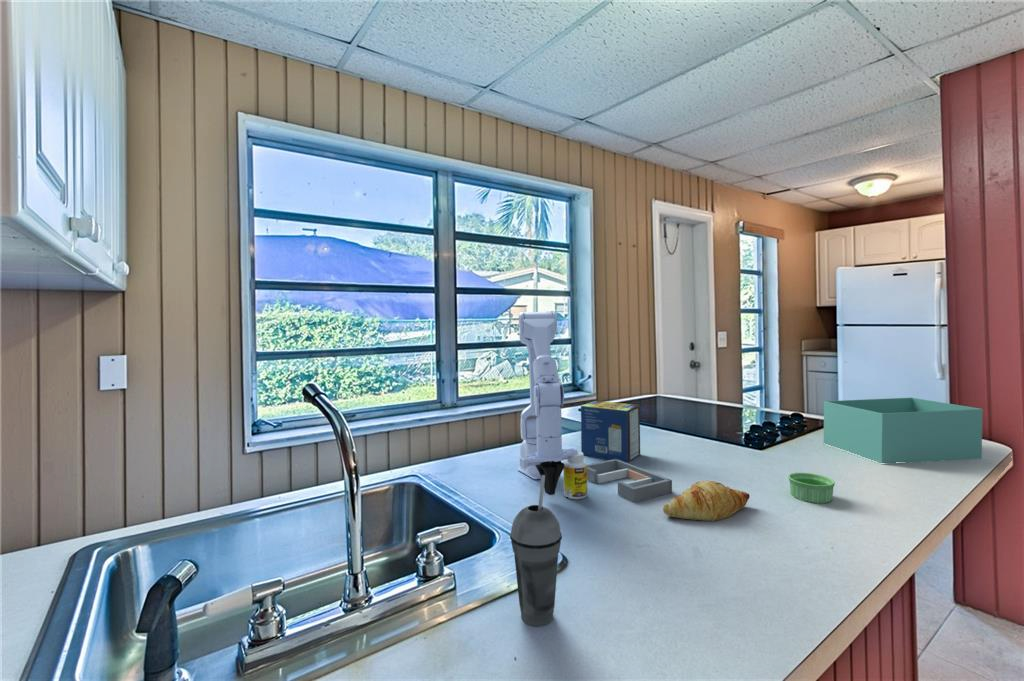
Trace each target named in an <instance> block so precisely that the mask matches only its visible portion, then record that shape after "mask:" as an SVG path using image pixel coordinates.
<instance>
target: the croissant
mask: <svg viewBox="0 0 1024 681" xmlns="http://www.w3.org/2000/svg"><path fill="white" fill-rule="evenodd" d="M750 497H751V496H750V494H749V493H747V492H746V491H743V490H742V491H740V490H738V489H734V488H730V487H729V486H725V485H724V484H722V483H721V482H716V481H712V480H701V481H697V482H695V483H694V484H692V485H691V486H690V488H686V489H685V490H683V491H682V493H681V494H680V495H679V496H676V497H673V498H672V499H671V500H670V501H669V503H668V504H664V505H663V508H662V512H663V513H664V514H665V516H668V517H670V518H671V517H672V518H677V519H678V518H679V519H684V520H695V521H709V522H710V521H712V522H714V521H716V520H722V519H726V518H728V517H731V516H732V515H733V514H734V513H736V512H737V511H739V510H741V509H742V508H744V507H745V506H746V505H747V503H748V501H749V499H750Z"/></svg>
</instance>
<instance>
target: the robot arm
mask: <svg viewBox="0 0 1024 681" xmlns="http://www.w3.org/2000/svg"><path fill="white" fill-rule="evenodd" d="M518 329H519V330H518V333H519V340H520V343H521V344H523V345H525V346H526V349H527V352H528V367H529V368H528V369H529V370H528V371H529V373H528V374H529V400H530V404H529V405H527V407H525V408H524V409H522V411H521V413H520V425H519V426H520V428H519V429H520V437H521V440H522V442H521V445H520V447H519V451H520V453H519V454H520V456H519V466H520V467H518V468H517V471H519V472H520V473H522V474H524V475H526V476H527V477H530V478H531V479H532V480H539V479H540V480H541V477H542V475H545V483H544V492H545V493H546V494H547V495H548V496H554V495H555V494H556V489H557V486H558V482H559V479H560V476H561V475H562V474H563V472H564V462H562V461H565V460H567V459H569V456H571V455H576V454H578V451H579V450H578V449H575V448H564V449H562V448H563V444H562V443H563V442H562V440H563V439H562V438H563V437H562V431H563V430H562V408H563V407H564V402H565V390H564V385H563V382H562V380H561V378H559V373H558V367H557V366H558V365H557V361H556V359H555V358H554V357H553V356H551V343H553V341H554V339H555V337H556V333H557V332H558V331H557V330H558V317H557V313H556V311H554V310H553V311H532V312H531V311H528V312H527V311H525V312H524V311H520V313H519V314H518ZM545 493H544V494H545Z"/></svg>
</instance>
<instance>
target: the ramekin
mask: <svg viewBox="0 0 1024 681" xmlns="http://www.w3.org/2000/svg"><path fill="white" fill-rule="evenodd" d="M788 481H789V489H790V490H789V491H790V494H791V496H792V497H793V496H794V498H795V499H797V498H798V499H797V500H799V499H801V500H800V501H802V500H804V501H803V502H805V501H808V502H807V503H810V502H814V503H813V504H820V503H822V504H828V502H829V503H830V502H832V501H833V494H834V487H835V484H836V482H835V480H833V479H832V478H830V477H828V476H825V475H823V474H822V475H821V474H817V473H810V472H792V473H790V474H788Z"/></svg>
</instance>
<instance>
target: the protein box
mask: <svg viewBox="0 0 1024 681" xmlns="http://www.w3.org/2000/svg"><path fill="white" fill-rule="evenodd" d="M640 412H641V410H640V404H636V403H635V404H633V403H622V402H610V401H603V400H602V401H600V400H594V401H590V402H587V403H585V404H582V405H580V445H581V446H580V448H581V450H580V452H582V453H583V454H584V456H585V455H588V456H587V457H591V456H593V457H592V458H596V457H599V459H602V458H604V460H608V459H609V460H613V459H618V460H621V461H623V462H626V463H628V464H629V463H630V462H632V460H634V459H635V458H637V457H638V456H640V455H641V422H640V421H641V418H640V417H641V416H640V415H641V413H640Z"/></svg>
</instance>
